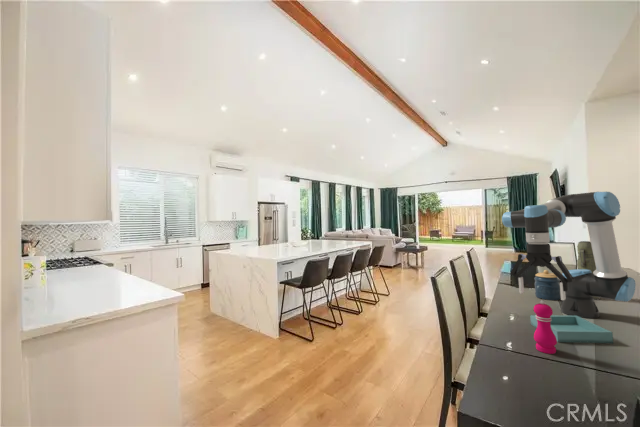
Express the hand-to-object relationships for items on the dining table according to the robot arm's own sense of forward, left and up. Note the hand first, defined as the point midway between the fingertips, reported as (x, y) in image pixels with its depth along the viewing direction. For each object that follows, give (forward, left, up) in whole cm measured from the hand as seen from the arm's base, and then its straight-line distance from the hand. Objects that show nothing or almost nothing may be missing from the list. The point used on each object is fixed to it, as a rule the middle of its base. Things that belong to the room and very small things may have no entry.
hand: (541, 296), depth 111 cm
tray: (-19, -18, -22) cm, 34 cm away
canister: (-43, -75, -22) cm, 89 cm away
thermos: (-66, -75, -22) cm, 103 cm away
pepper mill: (0, 0, -22) cm, 22 cm away
